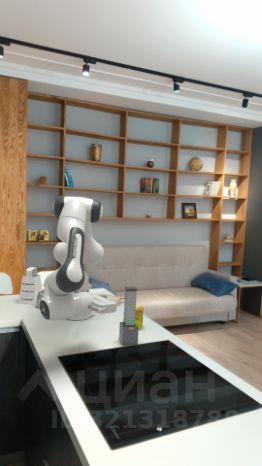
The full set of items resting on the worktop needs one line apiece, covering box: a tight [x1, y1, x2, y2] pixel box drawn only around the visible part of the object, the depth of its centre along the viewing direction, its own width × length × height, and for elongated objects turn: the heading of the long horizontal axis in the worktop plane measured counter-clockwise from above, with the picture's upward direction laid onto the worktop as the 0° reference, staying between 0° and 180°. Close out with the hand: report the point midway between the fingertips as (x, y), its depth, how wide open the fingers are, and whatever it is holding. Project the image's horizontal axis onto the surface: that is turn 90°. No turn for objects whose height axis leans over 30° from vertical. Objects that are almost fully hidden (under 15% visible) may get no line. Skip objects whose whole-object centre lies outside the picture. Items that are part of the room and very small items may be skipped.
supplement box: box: [135, 305, 145, 331], centre depth 169 cm, size 6×6×11 cm
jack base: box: [118, 321, 140, 347], centre depth 149 cm, size 12×14×9 cm
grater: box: [18, 266, 43, 306], centre depth 207 cm, size 10×10×20 cm
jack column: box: [122, 285, 138, 326], centre depth 148 cm, size 4×4×17 cm
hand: (112, 299), depth 142 cm, fingers open, 8 cm apart
